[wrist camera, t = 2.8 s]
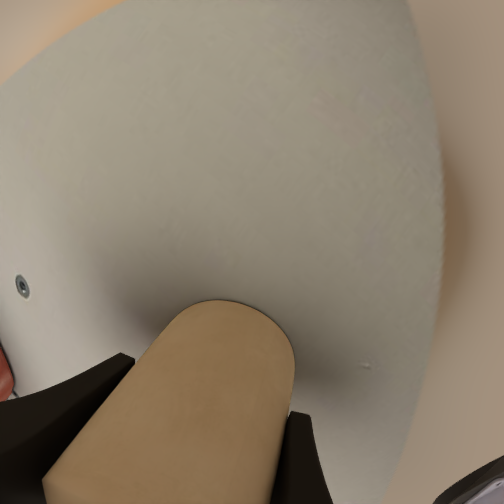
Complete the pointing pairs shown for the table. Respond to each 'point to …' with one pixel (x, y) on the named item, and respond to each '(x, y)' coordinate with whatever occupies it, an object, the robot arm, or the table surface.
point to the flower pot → (5, 378)
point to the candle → (188, 417)
